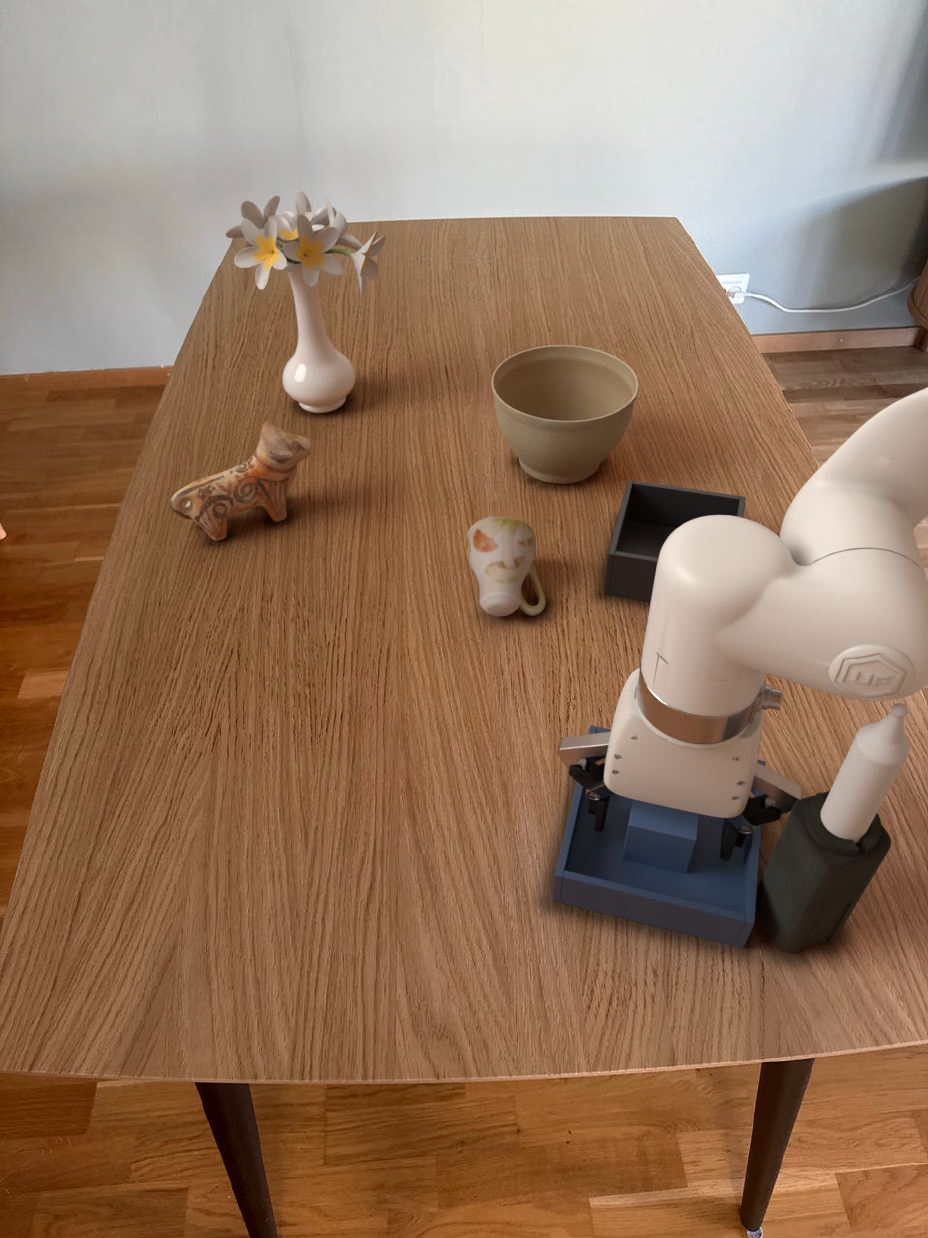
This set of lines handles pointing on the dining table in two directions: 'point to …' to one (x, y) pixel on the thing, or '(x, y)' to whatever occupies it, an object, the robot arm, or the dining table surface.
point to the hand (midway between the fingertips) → (662, 829)
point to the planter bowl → (563, 408)
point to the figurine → (245, 483)
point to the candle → (833, 842)
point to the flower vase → (306, 288)
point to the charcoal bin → (655, 531)
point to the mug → (503, 564)
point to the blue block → (661, 836)
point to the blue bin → (658, 875)
